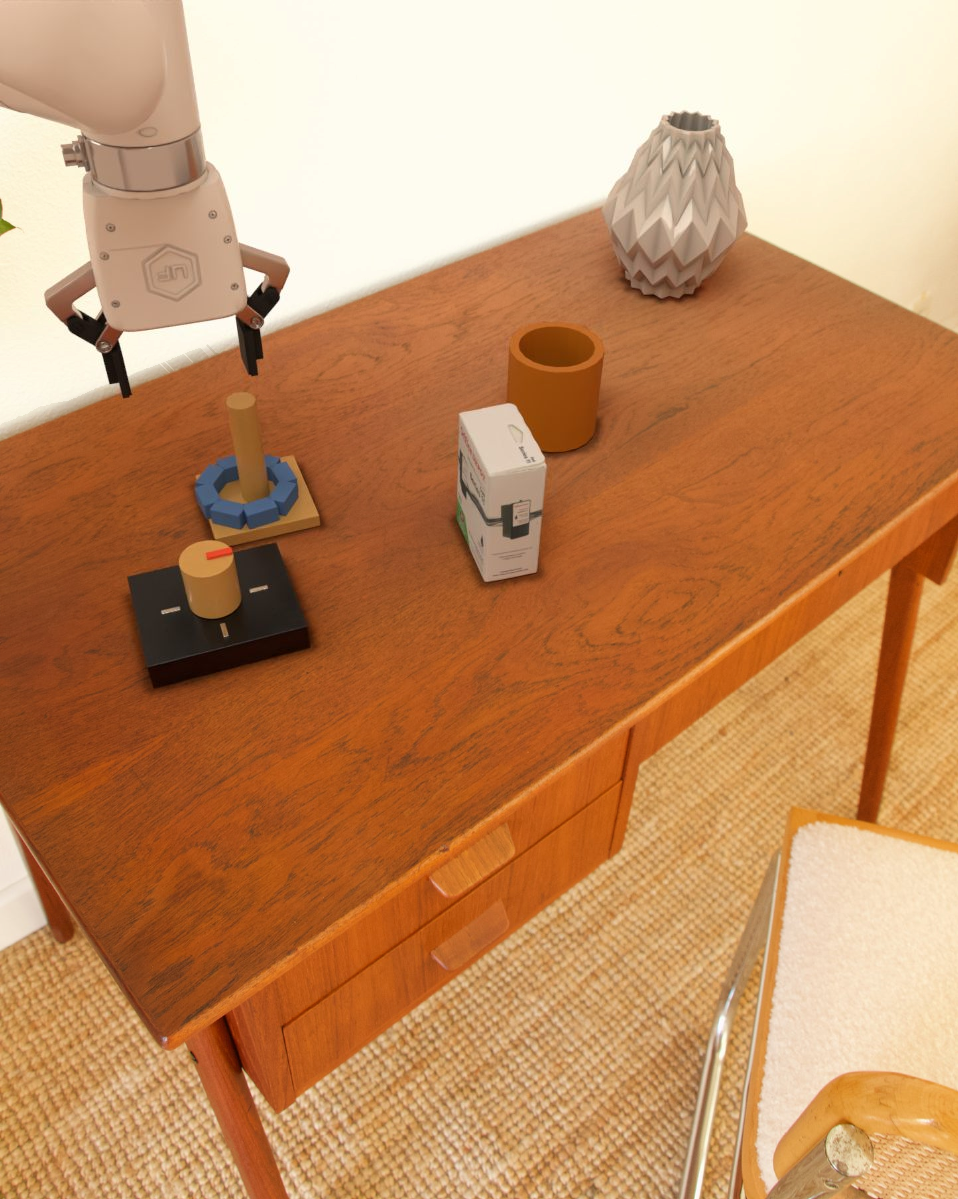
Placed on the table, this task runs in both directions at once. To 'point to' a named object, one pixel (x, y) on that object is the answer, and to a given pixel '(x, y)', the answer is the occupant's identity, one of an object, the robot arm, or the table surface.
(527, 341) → the mug
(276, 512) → the segmented ring
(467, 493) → the ink box
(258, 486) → the wooden peg stand
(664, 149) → the vase
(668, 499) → the table surface
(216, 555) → the rotary dial knob
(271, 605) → the black dial base plate
